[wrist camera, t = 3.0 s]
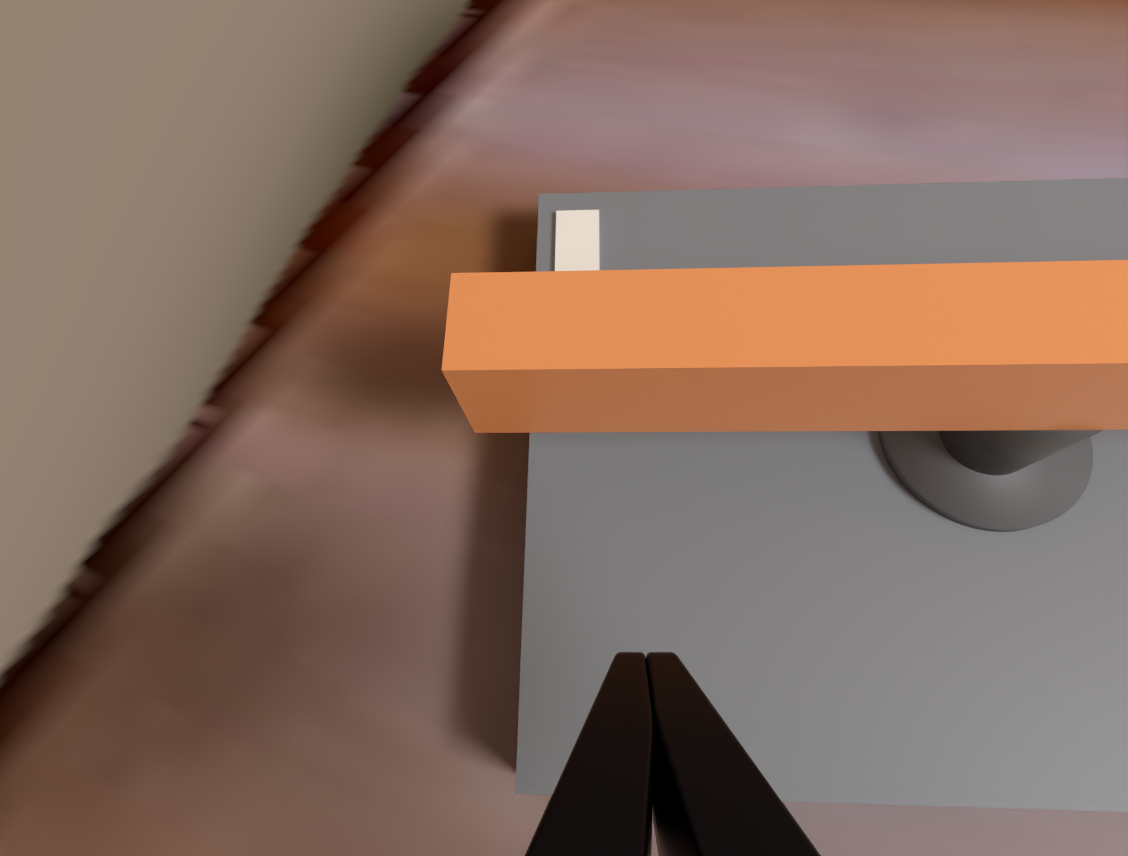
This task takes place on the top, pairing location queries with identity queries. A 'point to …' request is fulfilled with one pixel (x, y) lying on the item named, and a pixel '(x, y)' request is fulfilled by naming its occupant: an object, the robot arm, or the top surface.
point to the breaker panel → (840, 535)
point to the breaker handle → (801, 352)
